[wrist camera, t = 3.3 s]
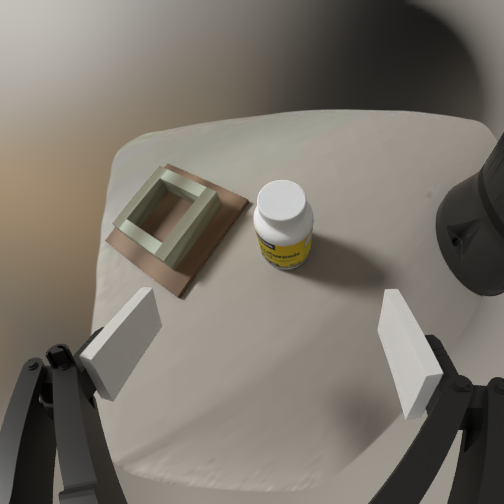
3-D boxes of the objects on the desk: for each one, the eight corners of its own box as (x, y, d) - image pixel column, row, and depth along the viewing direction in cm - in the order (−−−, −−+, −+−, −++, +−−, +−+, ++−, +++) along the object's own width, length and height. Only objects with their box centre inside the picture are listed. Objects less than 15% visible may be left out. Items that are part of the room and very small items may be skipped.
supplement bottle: (254, 262, 32) (237, 217, 23) (271, 221, 33) (261, 166, 24) (302, 277, 30) (304, 236, 21) (316, 233, 32) (322, 180, 23)
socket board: (248, 202, 35) (243, 184, 32) (179, 298, 31) (166, 289, 28) (169, 166, 39) (160, 150, 36) (107, 242, 36) (92, 230, 32)
